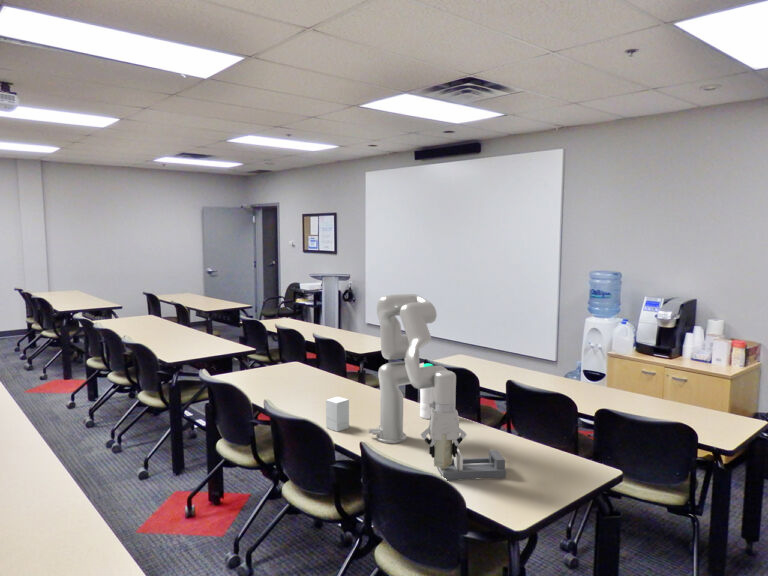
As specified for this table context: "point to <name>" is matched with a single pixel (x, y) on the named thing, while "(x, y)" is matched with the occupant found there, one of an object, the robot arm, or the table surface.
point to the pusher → (459, 464)
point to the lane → (477, 468)
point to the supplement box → (337, 413)
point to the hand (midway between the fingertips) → (443, 455)
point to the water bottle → (426, 400)
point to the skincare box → (443, 452)
